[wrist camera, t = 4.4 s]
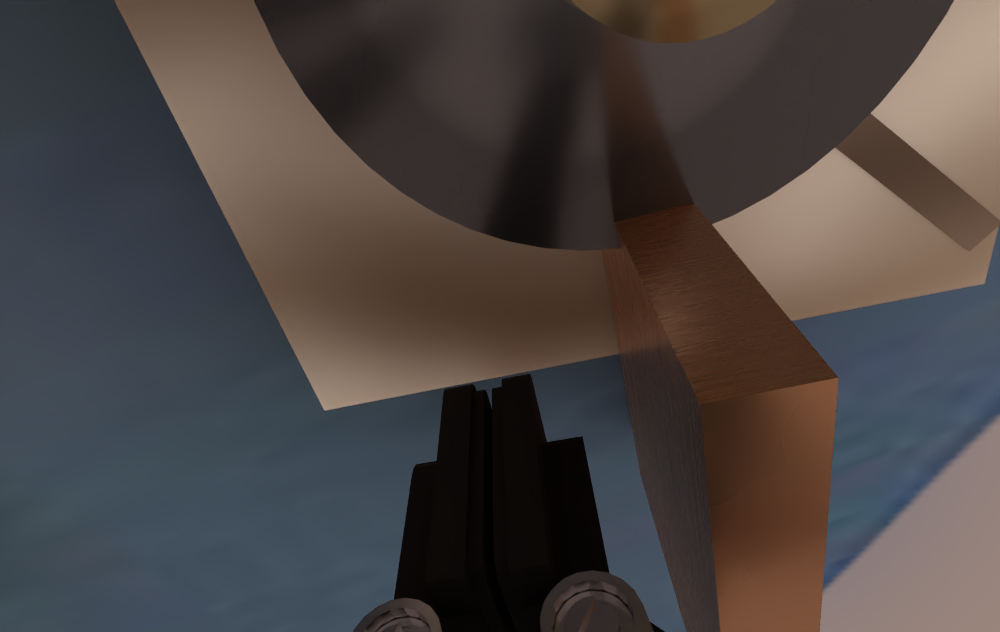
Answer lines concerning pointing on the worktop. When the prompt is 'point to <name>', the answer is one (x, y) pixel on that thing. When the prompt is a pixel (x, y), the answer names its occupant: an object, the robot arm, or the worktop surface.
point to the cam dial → (642, 220)
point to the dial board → (542, 271)
